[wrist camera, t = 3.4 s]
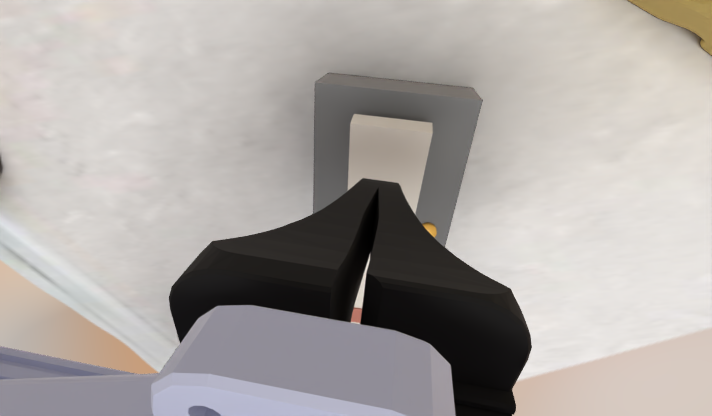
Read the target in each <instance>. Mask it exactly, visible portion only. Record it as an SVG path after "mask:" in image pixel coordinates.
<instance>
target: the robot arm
mask: <svg viewBox="0 0 712 416" xmlns="http://www.w3.org/2000/svg"><path fill="white" fill-rule="evenodd" d="M369 255H370V262H369V266H368V269H367V273H366V281H365V289H364V297H363V305H362V313H361V321H360V324H356V323H351V318H352V313H353V309H354V305H355V301H356V298H357V295H358V291H359V288H360V285H361V281H362V278H363V275H364V272H365V268H366V265H367V262H368V259H369ZM169 302H170V310H171V313H172V317H173V320H174V323H175V327H176V330H177V334H178V337H179V341H180V345H179V346H178V348H177V349H176V350H175V352H174V353H173V355H172V356H171V357H170V359H169V360H168V362H167V363H166V364H165V366H164V367H163V369H162V370H161V372H160V373H156V374H134V373H130V372H125V371H120V370H115V369H110V368H105V367H100V366H95V365H91V364H85V363H81V362H76V361H71V360H66V359H61V358H56V357H51V356H46V355H41V354H36V353H31V352H26V351H22V350H17V349H12V348H7V347H2V346H0V416H512V414H514V413H515V411H516V404H515V400H514V396H513V392H512V388H513V386H514V384H515V383H516V381H517V379H518V377H519V375H520V373H521V371H522V370H523V368H524V366H525V364H526V362H527V360H528V358H529V354H530V351H531V348H532V346H531V338H530V333H529V330H528V327H527V324H526V321H525V319H524V316H523V314H522V311H521V309H520V307H519V305H518V303H517V301H516V299H515V297H514V295H513V293H512V291H511V289H510V288H508V287H506V286H504V285H502V284H500V283H498V282H497V281H495V280H493V279H491V278H489V277H487V276H485V275H483V274H482V273H480V272H478V271H477V270H475V269H474V268H472V267H470V266H469V265H467V264H466V263H464V262H463V261H461V260H460V259H459V258H457V257H456V256H455V255H453V254H452V253H451V252H450V251H448V250H447V249H446V248H445V247H444V246H442V245H441V244H440V243H439V242H438V241H437V240H436V239H435V238H434V237H433V236H432V235H431V234H430V233H429V232H428V231H427V230H426V229H425V227H424V226H423V225H422V223H421V222H420V221H419V219H418V218H417V216H416V215H415V213H414V212H413V210H412V209H411V207H410V205H409V203H408V202H407V200H406V198H405V196H404V194H403V191H402V189H401V186H400V185H399V183H396V182H388V181H381V180H374V179H366V178H362V179H361V180H360V181H358V182H357V183H356V184H355V185H354V186H353V187H352V188H351V189H349V190H348V191H347V192H346V193H344V194H343V195H342V196H341V197H339V198H338V199H337V200H335V201H334V202H332V203H331V204H329V205H328V206H326V207H325V208H323V209H322V210H320V211H318V212H316V213H314V214H312V215H310V216H308V217H306V218H304V219H301V220H299V221H296V222H294V223H291V224H288V225H286V226H283V227H280V228H277V229H273V230H270V231H266V232H262V233H258V234H254V235H249V236H244V237H238V238H231V239H225V240H218V241H212V242H211V243H210V244H209V245H208V246H207V247H206V248H205V249H204V250H203V251H202V252H201V253H200V254H199V256H198V257H197V258H196V259H195V260H194V261H193V263H192V264H191V265H190V266H189V267H188V268H187V270H186V271H185V272H184V273H183V274H182V275H181V277H180V278H179V279H178V280H177V281H176V282H175V284H174V285H173V286H172V288H171V292H170V296H169Z"/></svg>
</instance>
